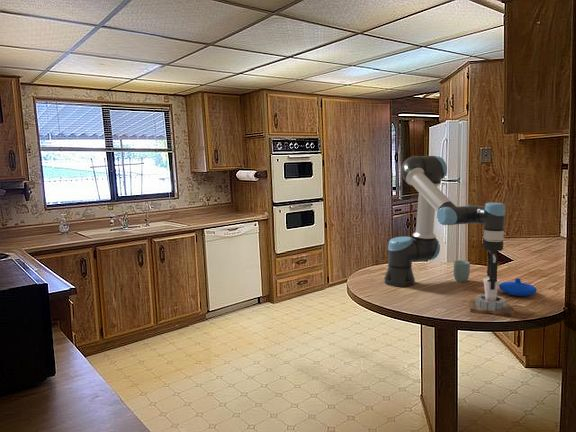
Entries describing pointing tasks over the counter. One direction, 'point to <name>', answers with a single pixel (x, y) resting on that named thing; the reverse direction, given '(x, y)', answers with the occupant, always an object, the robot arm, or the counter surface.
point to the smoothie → (486, 285)
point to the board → (504, 312)
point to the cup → (461, 270)
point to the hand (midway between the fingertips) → (490, 294)
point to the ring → (490, 303)
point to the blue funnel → (517, 288)
